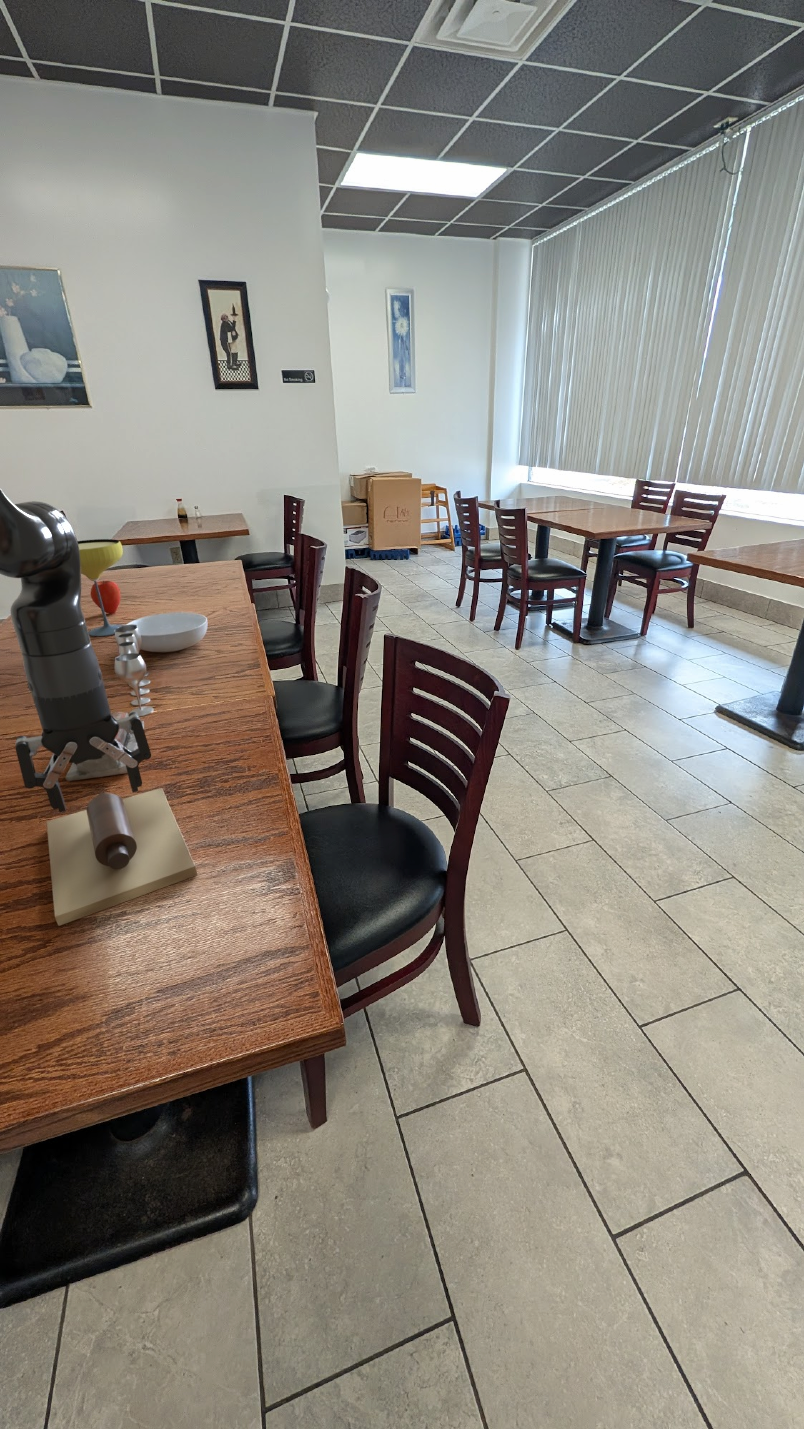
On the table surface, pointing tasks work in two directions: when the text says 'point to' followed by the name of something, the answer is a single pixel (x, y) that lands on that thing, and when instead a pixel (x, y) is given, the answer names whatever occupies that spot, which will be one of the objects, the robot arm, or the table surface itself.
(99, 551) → the cocktail glass
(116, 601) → the apple
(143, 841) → the pastry board
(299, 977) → the table surface
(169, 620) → the serving bowl
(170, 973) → the table surface
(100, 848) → the rolling pin
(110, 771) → the packaged product
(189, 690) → the table surface
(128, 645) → the goblet set
